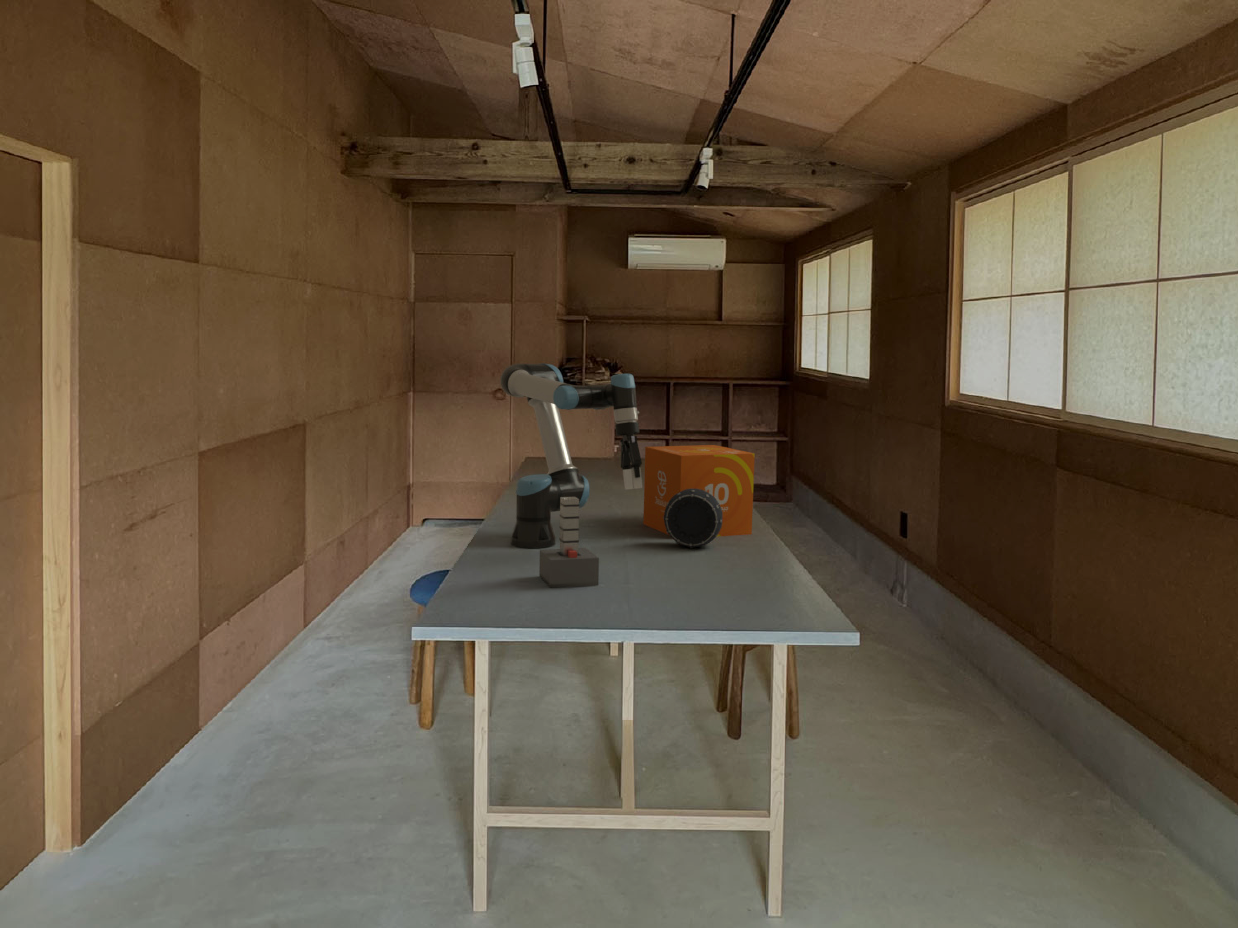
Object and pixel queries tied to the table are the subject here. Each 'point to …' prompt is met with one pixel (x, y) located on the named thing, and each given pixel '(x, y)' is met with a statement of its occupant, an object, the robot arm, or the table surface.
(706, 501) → the studded black puck
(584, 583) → the stand
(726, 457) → the box
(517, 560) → the table surface
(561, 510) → the column
